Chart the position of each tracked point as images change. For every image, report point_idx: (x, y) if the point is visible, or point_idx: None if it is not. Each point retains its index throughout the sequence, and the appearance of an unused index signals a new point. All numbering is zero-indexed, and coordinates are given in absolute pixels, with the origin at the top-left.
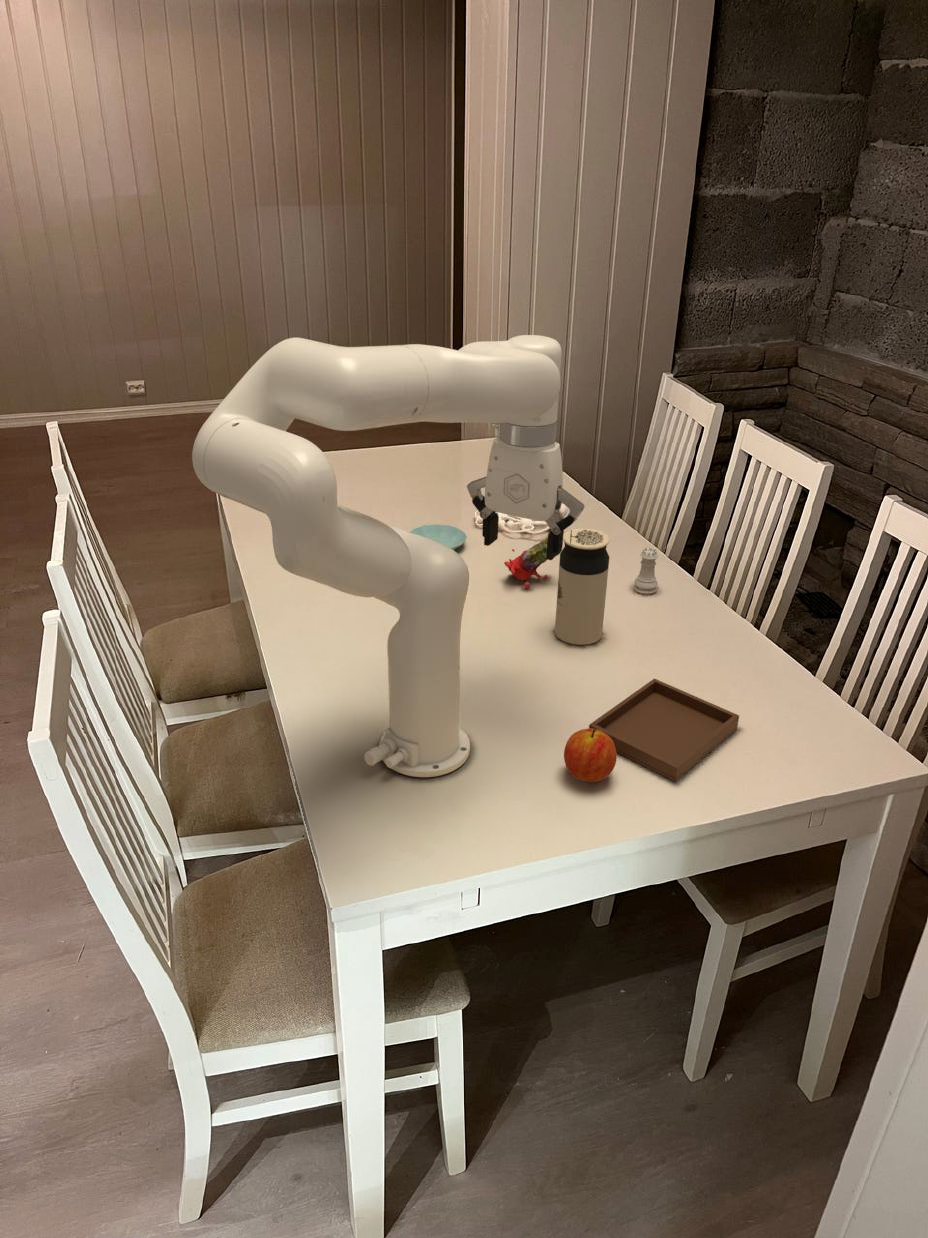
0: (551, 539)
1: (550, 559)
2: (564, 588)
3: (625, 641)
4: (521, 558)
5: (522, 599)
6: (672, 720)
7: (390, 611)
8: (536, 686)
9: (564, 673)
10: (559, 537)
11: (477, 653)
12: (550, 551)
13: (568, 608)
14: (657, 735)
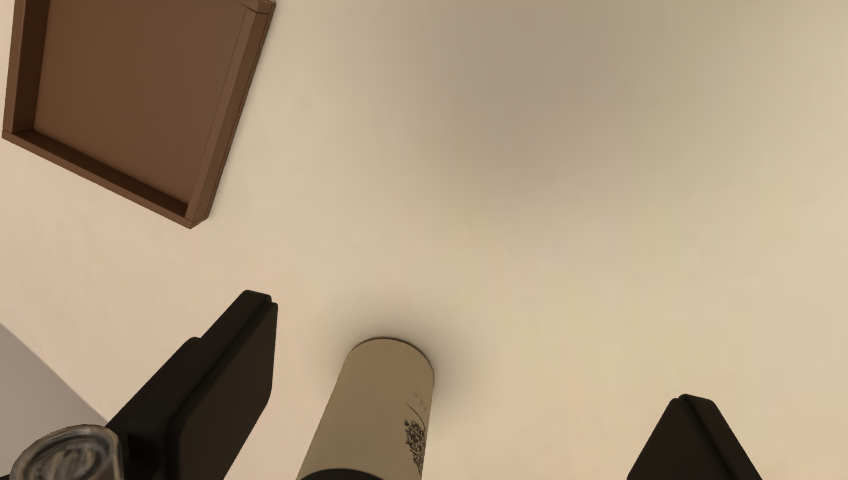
0: (163, 385)
1: (246, 290)
2: (397, 439)
3: (300, 368)
4: None
5: (518, 467)
6: (134, 116)
7: (801, 387)
8: (428, 177)
9: (383, 239)
10: (116, 423)
11: (578, 271)
12: (220, 320)
13: (390, 396)
14: (141, 49)
